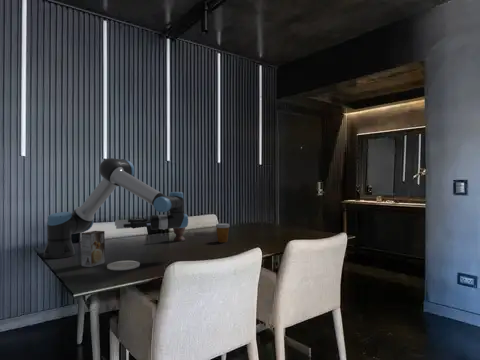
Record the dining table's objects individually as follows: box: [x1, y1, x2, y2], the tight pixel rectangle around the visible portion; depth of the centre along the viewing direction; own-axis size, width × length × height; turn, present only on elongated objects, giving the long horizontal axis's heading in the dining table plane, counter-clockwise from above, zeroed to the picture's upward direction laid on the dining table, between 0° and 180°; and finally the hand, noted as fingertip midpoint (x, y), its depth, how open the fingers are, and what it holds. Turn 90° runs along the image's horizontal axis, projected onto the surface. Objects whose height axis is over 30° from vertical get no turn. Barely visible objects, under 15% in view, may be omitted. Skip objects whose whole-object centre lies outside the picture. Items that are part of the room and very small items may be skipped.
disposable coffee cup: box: [215, 222, 230, 243], centre depth 235 cm, size 10×10×12 cm
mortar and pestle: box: [167, 212, 186, 242], centre depth 238 cm, size 12×9×20 cm
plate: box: [106, 260, 141, 271], centre depth 167 cm, size 15×15×1 cm
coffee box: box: [80, 230, 106, 268], centre depth 170 cm, size 9×6×16 cm
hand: (115, 224), depth 174 cm, fingers open, 13 cm apart
